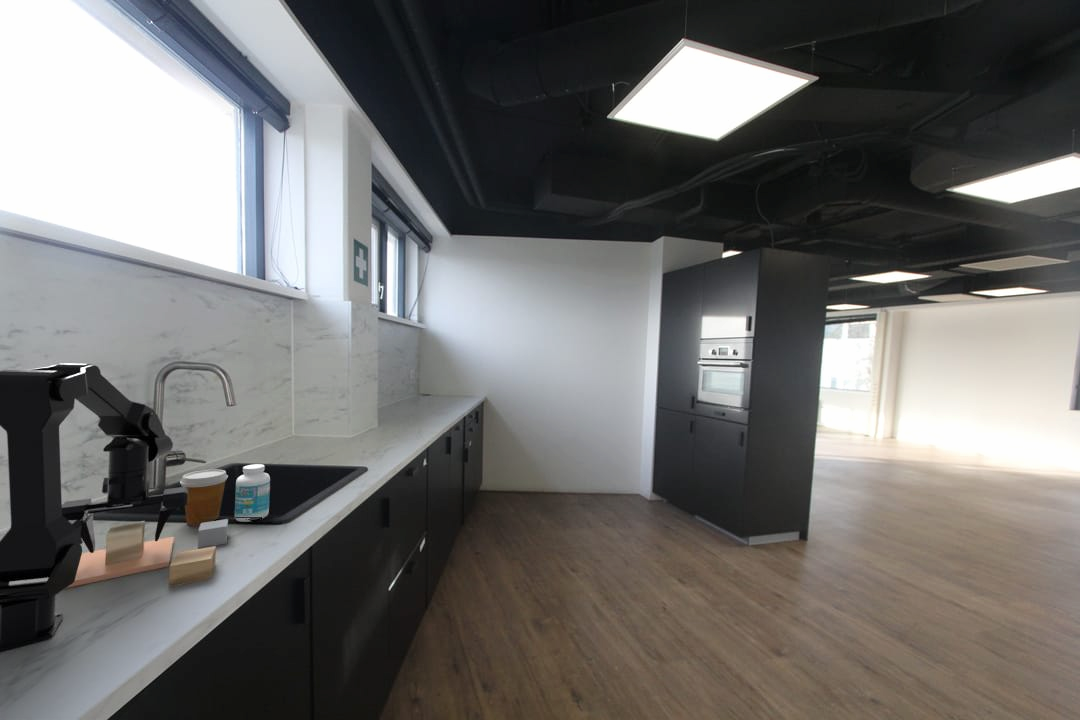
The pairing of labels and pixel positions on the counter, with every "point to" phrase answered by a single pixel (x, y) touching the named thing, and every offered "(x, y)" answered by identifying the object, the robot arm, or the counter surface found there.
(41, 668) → the counter surface
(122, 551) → the maple block
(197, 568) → the oak block
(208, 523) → the grey plastic block
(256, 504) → the pill bottle
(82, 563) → the terracotta tile
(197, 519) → the disposable coffee cup
